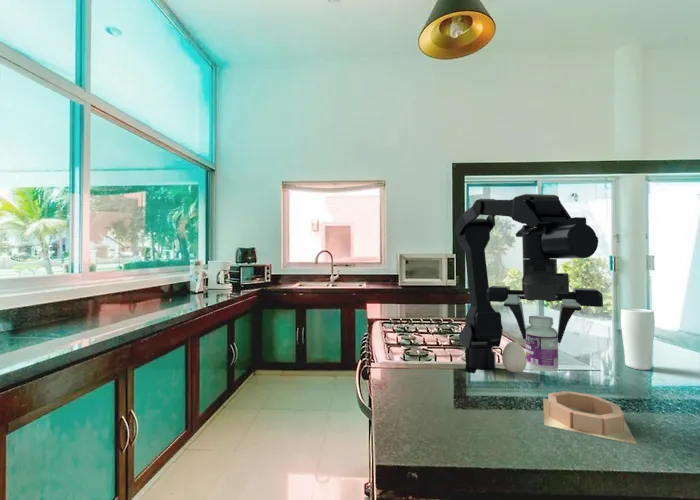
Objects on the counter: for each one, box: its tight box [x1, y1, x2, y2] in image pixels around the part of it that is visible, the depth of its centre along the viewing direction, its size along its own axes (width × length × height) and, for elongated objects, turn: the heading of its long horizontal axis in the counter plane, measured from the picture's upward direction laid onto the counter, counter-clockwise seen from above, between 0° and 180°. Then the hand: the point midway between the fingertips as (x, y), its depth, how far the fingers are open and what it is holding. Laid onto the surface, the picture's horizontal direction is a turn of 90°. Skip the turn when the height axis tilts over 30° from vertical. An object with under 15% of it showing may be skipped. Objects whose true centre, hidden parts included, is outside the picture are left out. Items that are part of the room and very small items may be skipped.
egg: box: [501, 341, 527, 373], centre depth 83 cm, size 6×6×8 cm
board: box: [542, 398, 638, 446], centre depth 58 cm, size 12×12×1 cm
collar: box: [547, 390, 625, 435], centre depth 58 cm, size 10×10×2 cm
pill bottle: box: [525, 315, 559, 372], centre depth 64 cm, size 5×5×10 cm
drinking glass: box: [620, 307, 656, 371], centre depth 88 cm, size 7×7×15 cm
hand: (541, 340), depth 64 cm, fingers closed on pill bottle, 5 cm apart
